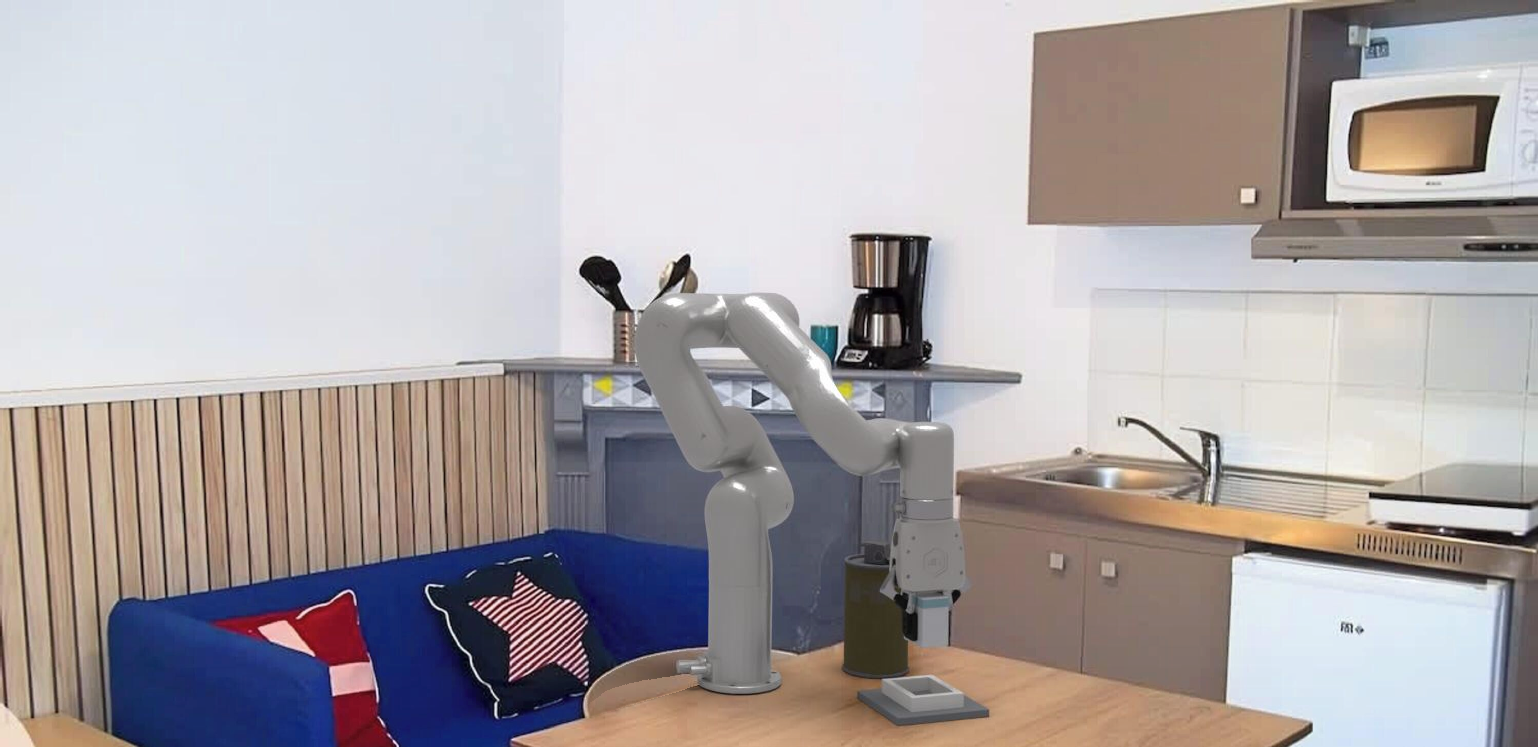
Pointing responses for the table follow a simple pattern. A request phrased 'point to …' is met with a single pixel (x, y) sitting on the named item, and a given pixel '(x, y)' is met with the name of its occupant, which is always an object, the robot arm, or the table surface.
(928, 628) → the plug
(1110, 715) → the table surface
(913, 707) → the grey square socket base
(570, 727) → the table surface
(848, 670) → the canister
